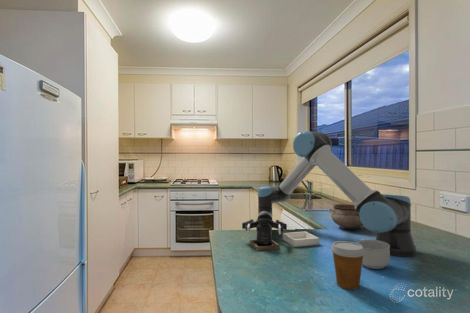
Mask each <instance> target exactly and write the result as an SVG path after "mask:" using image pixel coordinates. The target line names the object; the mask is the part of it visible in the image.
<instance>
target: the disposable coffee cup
mask: <svg viewBox="0 0 470 313" xmlns="http://www.w3.org/2000/svg"><path fill="white" fill-rule="evenodd" d="M330 249H331V252H332V256H333V264H334V271H335V277H336V278H335V279H336V284H337V286H339V287H340V288H342V289H345V290H351V291H352V290H357V289H359V288H360V282H361V275H362V265H363V264H362V260H363V255H364V253H365V251H364V249H363V246H362V245H360V244H358V243H356V242H355V241H354V242H353V241H345V240H339V241H333V243H332V245H331V247H330Z"/></svg>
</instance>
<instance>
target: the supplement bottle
mask: <svg viewBox="0 0 470 313" xmlns="http://www.w3.org/2000/svg"><path fill="white" fill-rule="evenodd" d="M258 223H259V224H258V225H257V227H255V229H256V232H255V233H256V234H255V235H256V239H255V240H257V244H256V245H257V246H269V245H272V240H273V228H272V227H271V225H269V223H270V220H269V219H268V218H259V222H258Z"/></svg>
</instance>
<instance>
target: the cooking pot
mask: <svg viewBox="0 0 470 313" xmlns="http://www.w3.org/2000/svg"><path fill="white" fill-rule="evenodd" d="M327 211H328V213H330V217H331V219H332V221H333V222H334V223H335V224H336V225H338V226H339V227H340V228H342V229H344V230H347V229H350V230H349V231H354V230H355V229H356V230H358V229H360V228H362V227H363V226H364V225H363V224H362V222H361V221H360V215H359V214H358V213H357V211H356V210H355V204H354V203H345V202H343V203H333V204H332V208H329V209H328V210H327ZM364 227H365V226H364Z"/></svg>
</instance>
